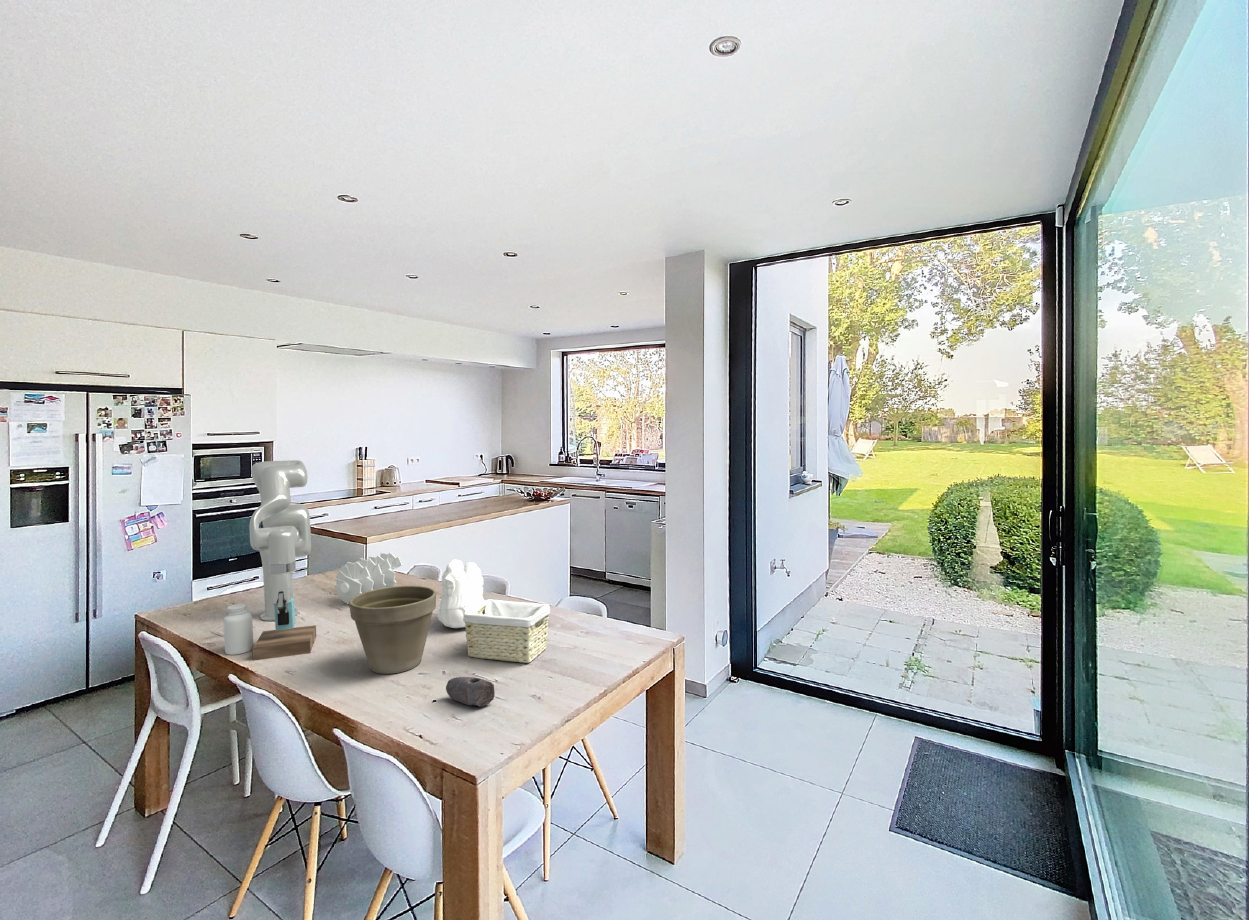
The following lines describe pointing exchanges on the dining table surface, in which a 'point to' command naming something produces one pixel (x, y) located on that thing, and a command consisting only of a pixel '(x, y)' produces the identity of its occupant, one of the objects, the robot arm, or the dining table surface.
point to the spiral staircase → (366, 575)
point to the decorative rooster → (459, 592)
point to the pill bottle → (238, 630)
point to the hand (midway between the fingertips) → (285, 621)
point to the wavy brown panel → (284, 642)
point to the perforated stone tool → (471, 690)
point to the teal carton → (291, 616)
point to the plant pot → (393, 625)
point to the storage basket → (507, 630)
